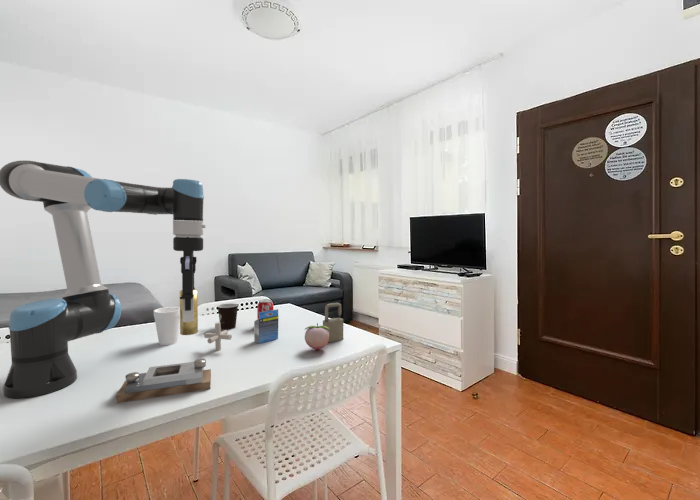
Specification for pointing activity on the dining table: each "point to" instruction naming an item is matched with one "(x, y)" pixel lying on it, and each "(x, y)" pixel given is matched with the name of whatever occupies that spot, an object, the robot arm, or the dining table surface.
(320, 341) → the decorative fruit
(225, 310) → the coffee mug
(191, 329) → the brass pin
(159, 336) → the foam cup
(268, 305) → the soda can
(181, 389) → the walnut board
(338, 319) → the padlock
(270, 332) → the label tape box
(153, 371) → the grey slotted fixture
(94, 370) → the dining table surface
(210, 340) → the pipe connector
